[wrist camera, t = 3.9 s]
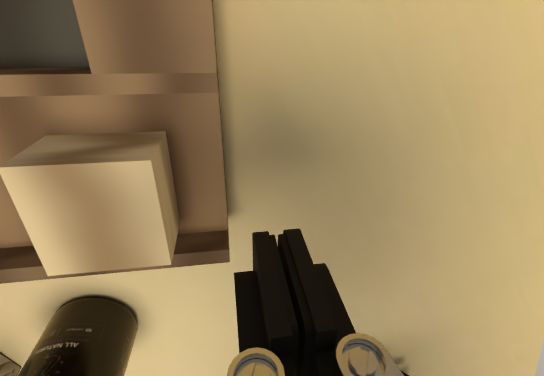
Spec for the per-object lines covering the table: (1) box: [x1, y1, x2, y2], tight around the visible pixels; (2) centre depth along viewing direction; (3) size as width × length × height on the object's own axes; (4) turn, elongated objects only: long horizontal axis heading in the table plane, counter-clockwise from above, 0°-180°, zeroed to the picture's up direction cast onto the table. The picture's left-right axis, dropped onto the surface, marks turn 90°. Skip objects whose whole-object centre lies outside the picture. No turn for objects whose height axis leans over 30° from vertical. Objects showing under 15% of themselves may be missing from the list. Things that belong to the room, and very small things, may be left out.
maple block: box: [0, 131, 180, 276], centre depth 16 cm, size 6×6×4 cm
